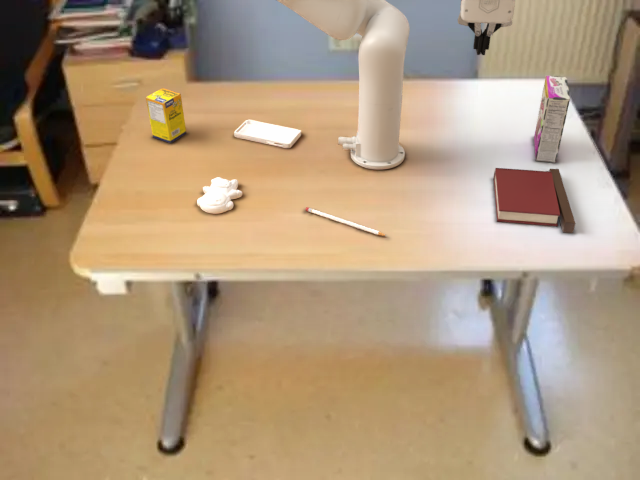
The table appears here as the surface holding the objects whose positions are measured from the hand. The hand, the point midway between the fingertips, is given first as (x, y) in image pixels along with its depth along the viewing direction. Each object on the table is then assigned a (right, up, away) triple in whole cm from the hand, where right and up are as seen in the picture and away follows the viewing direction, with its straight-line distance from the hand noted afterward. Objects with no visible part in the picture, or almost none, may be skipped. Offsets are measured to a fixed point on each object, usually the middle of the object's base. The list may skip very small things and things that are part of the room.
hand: (480, 52), depth 145 cm
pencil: (-28, -35, -1) cm, 45 cm away
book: (+10, -30, +5) cm, 33 cm away
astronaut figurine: (-54, -30, +7) cm, 62 cm away
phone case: (-46, -13, +28) cm, 55 cm away
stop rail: (+18, -31, +4) cm, 36 cm away
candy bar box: (+20, -18, +22) cm, 34 cm away
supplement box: (-70, -13, +28) cm, 76 cm away
